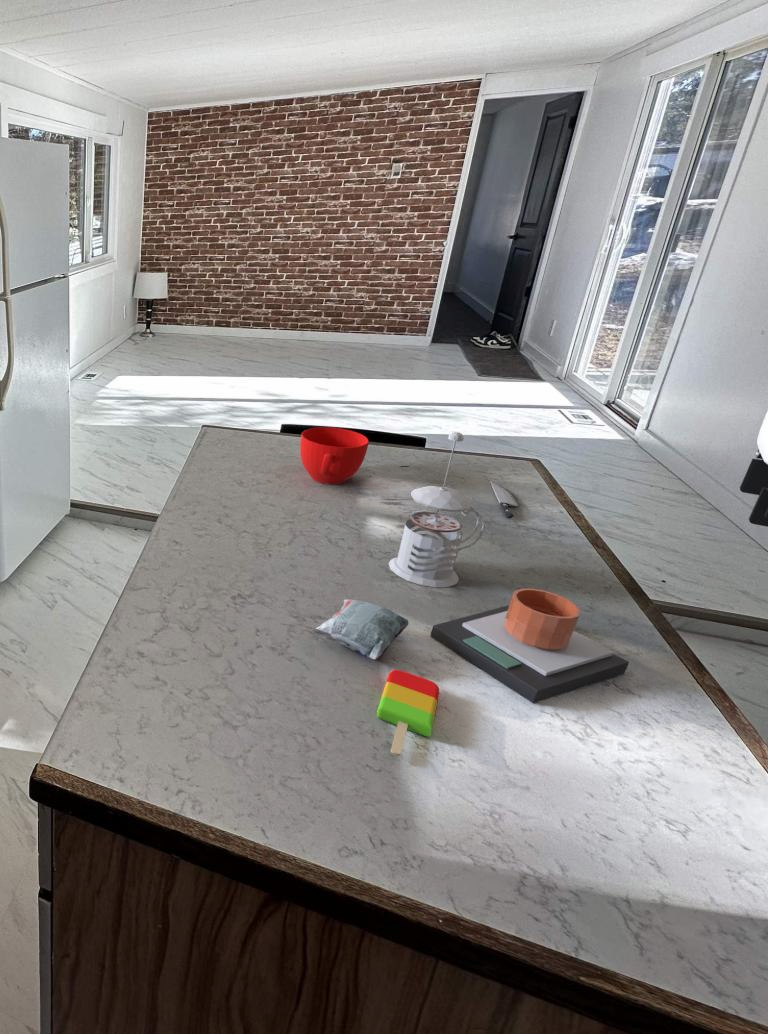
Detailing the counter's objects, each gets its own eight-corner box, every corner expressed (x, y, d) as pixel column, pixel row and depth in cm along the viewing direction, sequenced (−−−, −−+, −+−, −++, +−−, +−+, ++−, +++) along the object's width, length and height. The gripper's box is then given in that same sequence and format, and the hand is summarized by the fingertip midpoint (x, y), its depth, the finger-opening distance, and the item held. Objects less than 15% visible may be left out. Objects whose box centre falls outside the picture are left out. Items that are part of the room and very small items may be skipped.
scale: (513, 613, 96) (517, 599, 95) (624, 674, 84) (631, 658, 83) (429, 636, 92) (433, 621, 91) (533, 703, 80) (539, 687, 79)
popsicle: (438, 694, 82) (441, 682, 81) (422, 771, 72) (425, 759, 71) (388, 676, 85) (391, 665, 85) (366, 747, 75) (368, 735, 74)
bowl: (526, 617, 91) (537, 584, 89) (580, 646, 85) (593, 611, 83) (490, 627, 90) (500, 594, 88) (543, 657, 84) (555, 622, 82)
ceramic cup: (287, 490, 139) (293, 447, 135) (300, 463, 152) (306, 423, 148) (355, 502, 132) (363, 458, 128) (363, 473, 145) (371, 432, 141)
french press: (379, 554, 113) (408, 421, 104) (453, 558, 111) (489, 422, 102) (402, 585, 104) (436, 442, 95) (483, 590, 102) (526, 444, 93)
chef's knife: (507, 485, 136) (489, 482, 137) (508, 480, 135) (491, 477, 137) (525, 523, 120) (505, 519, 122) (527, 518, 120) (507, 514, 121)
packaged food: (309, 643, 92) (315, 615, 90) (344, 609, 99) (350, 582, 97) (375, 674, 86) (382, 644, 84) (407, 636, 93) (415, 608, 91)
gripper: (926, 380, 55) (836, 552, 61) (878, 343, 66) (806, 492, 73) (789, 369, 60) (720, 529, 66) (766, 336, 71) (708, 476, 78)
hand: (765, 509), depth 70 cm, fingers open, 9 cm apart
